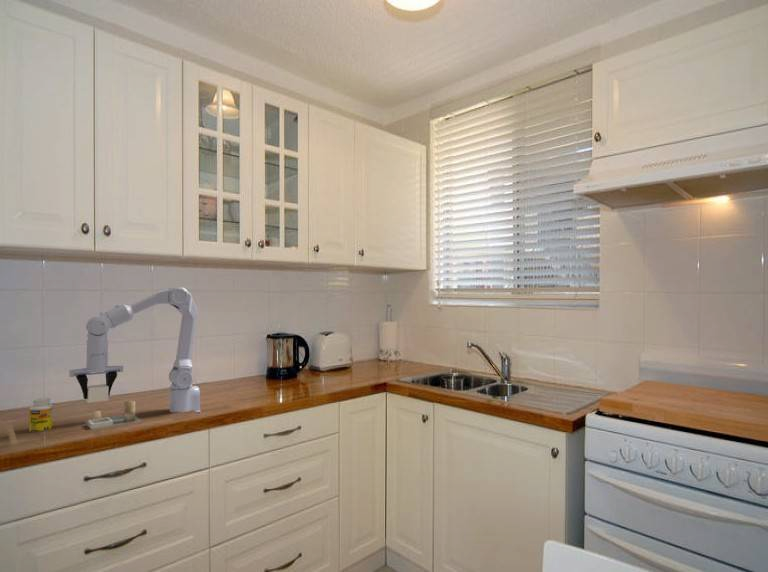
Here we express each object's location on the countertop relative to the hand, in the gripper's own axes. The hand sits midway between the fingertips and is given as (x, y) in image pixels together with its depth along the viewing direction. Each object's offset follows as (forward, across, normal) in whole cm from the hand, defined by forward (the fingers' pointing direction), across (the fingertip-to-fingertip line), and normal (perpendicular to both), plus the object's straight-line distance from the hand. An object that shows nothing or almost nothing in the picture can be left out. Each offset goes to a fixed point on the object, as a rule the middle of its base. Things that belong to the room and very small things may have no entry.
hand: (96, 397), depth 145 cm
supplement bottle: (+9, +14, -2) cm, 17 cm away
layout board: (+9, -4, +3) cm, 10 cm away
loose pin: (+8, -8, +6) cm, 13 cm away
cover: (+1, 0, 0) cm, 1 cm away
